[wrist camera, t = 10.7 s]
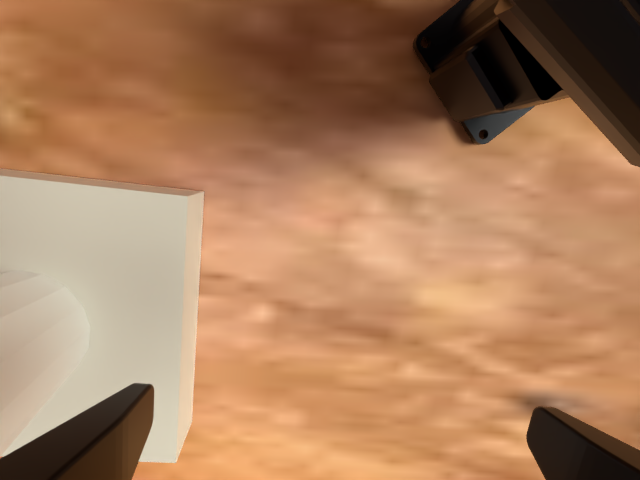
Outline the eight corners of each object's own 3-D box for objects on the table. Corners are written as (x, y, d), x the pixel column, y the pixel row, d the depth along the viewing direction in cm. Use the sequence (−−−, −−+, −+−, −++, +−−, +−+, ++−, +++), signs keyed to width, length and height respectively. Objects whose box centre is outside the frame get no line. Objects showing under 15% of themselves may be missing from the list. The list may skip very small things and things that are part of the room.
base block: (-90, 158, 17) (-169, 156, 14) (204, 191, 18) (187, 196, 16) (-62, 409, 20) (-123, 451, 17) (192, 421, 21) (175, 462, 18)
